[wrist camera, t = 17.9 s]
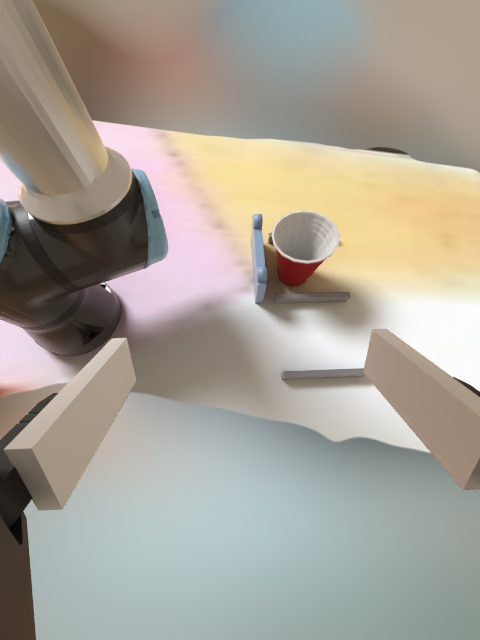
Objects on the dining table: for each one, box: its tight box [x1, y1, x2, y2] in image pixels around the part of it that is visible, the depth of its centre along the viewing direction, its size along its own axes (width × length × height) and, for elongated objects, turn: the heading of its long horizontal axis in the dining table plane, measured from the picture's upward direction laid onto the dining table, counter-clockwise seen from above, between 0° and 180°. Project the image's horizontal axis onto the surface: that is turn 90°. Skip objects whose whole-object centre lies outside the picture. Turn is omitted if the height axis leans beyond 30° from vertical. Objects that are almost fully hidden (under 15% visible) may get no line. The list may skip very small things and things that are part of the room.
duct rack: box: [251, 214, 365, 379], centre depth 44 cm, size 18×30×9 cm, turn 2°
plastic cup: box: [271, 210, 340, 287], centre depth 44 cm, size 11×11×12 cm
